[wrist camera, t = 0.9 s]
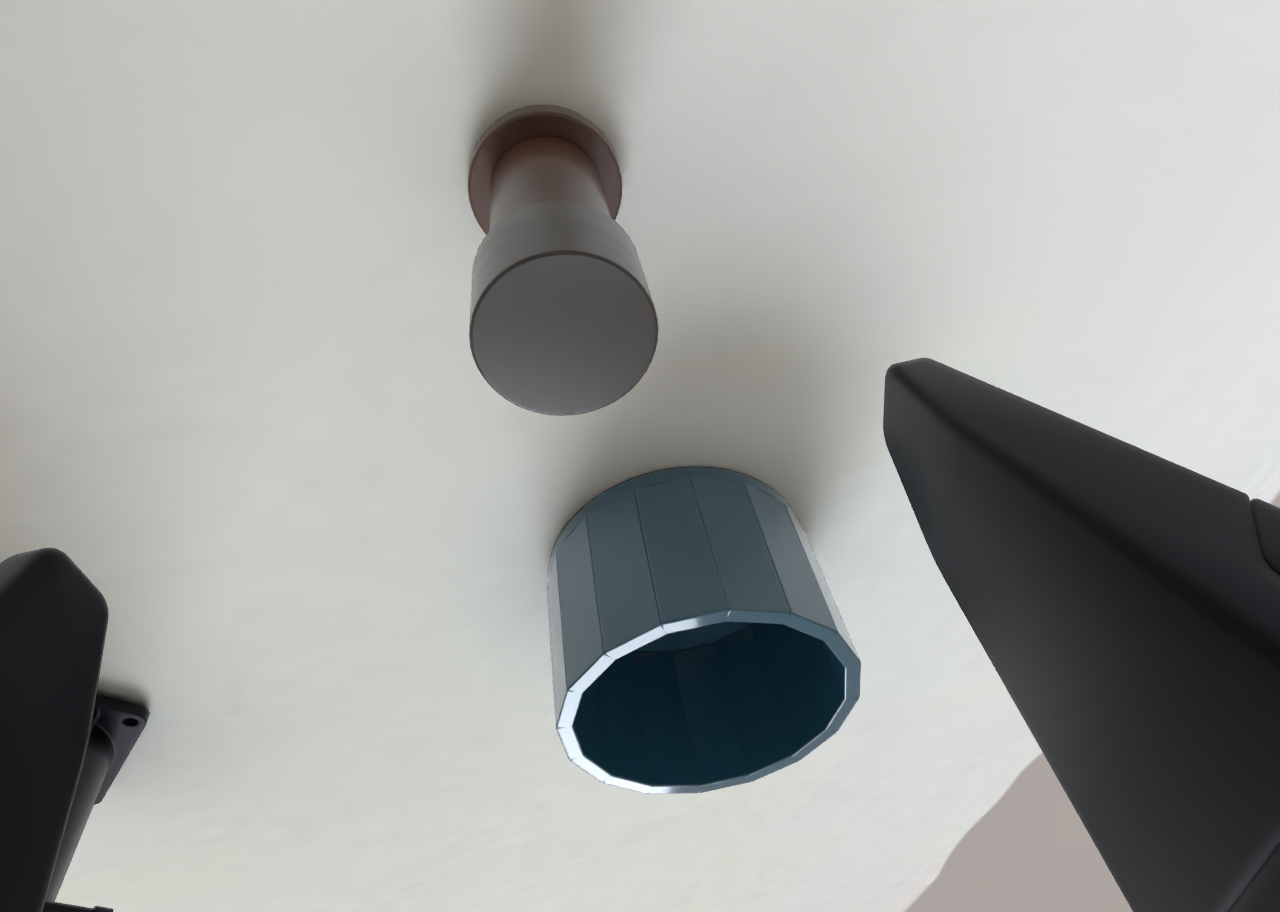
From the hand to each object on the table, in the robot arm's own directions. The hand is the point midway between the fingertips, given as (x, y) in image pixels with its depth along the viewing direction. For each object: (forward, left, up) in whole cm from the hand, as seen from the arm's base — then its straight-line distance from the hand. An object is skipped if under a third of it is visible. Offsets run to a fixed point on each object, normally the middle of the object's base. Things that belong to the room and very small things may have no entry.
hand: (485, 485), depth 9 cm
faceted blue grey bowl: (-9, -13, -13) cm, 20 cm away
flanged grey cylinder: (0, -2, -13) cm, 13 cm away
